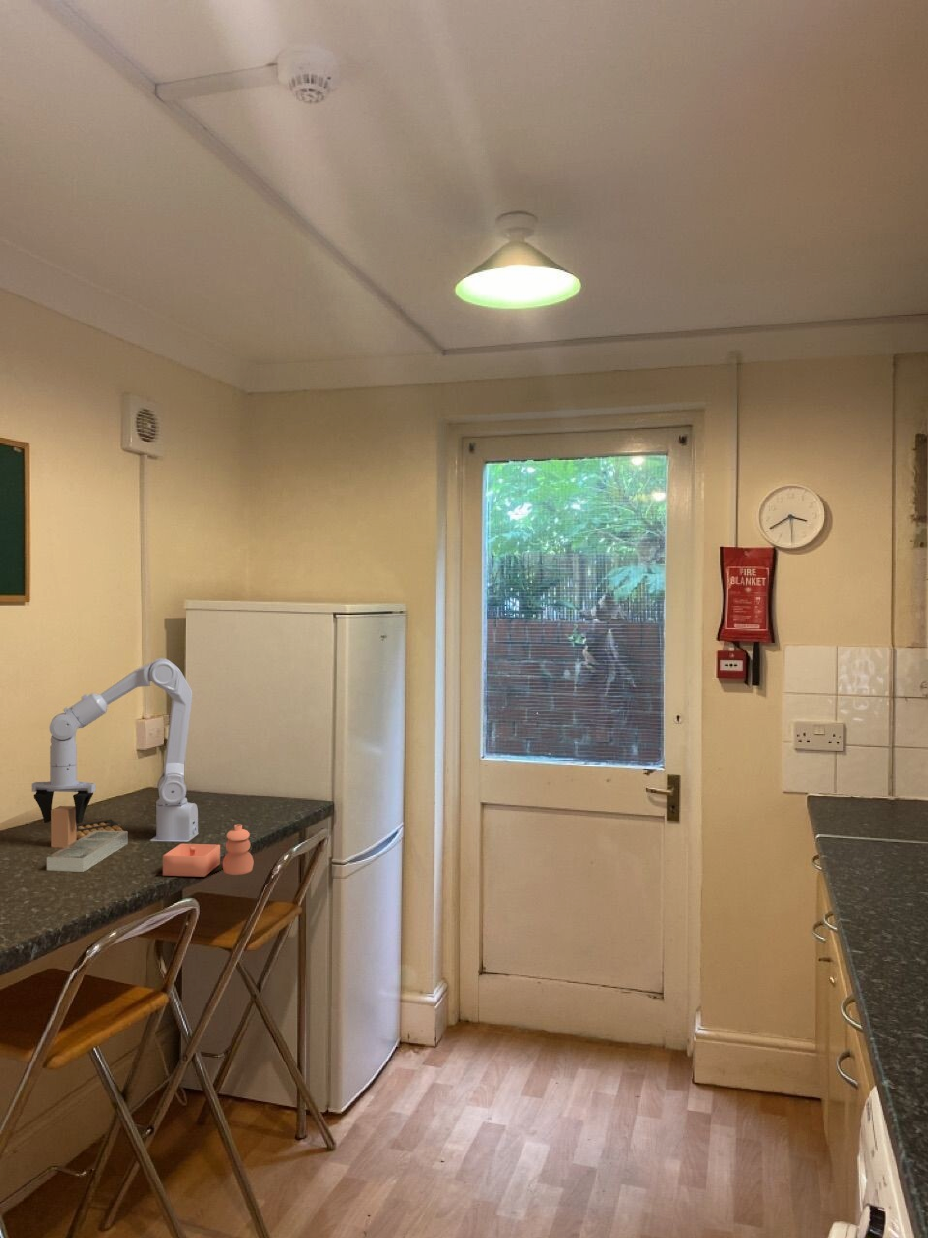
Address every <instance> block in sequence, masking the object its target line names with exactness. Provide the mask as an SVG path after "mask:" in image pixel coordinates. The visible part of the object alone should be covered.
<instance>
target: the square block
mask: <svg viewBox="0 0 928 1238" xmlns="http://www.w3.org/2000/svg"><path fill="white" fill-rule="evenodd" d="M75 817H76V809H75V805H72V806H71V805H59V806H56V807H55V808H52V810H51V821H50V823H51V825H50V827H51V828H50V829H51V830H50V833H51V848H59V849H62V848H64V847H66V846H68V845H70V844H71V843H73V842H75V841H77V837H76V825H77V824H76V820H75Z"/></svg>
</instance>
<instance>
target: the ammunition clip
mask: <svg viewBox="0 0 928 1238" xmlns="http://www.w3.org/2000/svg"><path fill="white" fill-rule="evenodd" d="M93 831H124V830H123V828H121V827H120V826H119V824H118V823H117V822H115V821H114V820H113V819H105V820H99V821H93V822H87V823H79V824H76V839H77V840H79V839H80V838H82V837H84V836H86V835H88V834H89V833H91V832H93Z"/></svg>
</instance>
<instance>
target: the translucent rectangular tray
mask: <svg viewBox="0 0 928 1238" xmlns="http://www.w3.org/2000/svg"><path fill="white" fill-rule="evenodd" d="M128 833H129V832H128V831H127V830H123V831H93V832H91V833H89V834H88V835H86V836H84V837H82V838H80V839H76V841H75V842H73V843H71V844H70V845H68V846H66V847H64V848H60V849H59V850H57V851H56V852H53V853H52V854H50V855H48V856H46V871H47V872H49V871H51V872H68V873H69V872H72V873H73V872H74V873H75V872H76V873H83V872H86V871H87V870H89V869H90V868H92V867H93V866H95V865H96V864H98V863H100V862H101V861H103V860H105V859H106V858H107V857H109V856H110V855H113V854H114V853H116V852H117V851H119V850H120V849H122V848H123V847H125V846H126V845H128V843H129V842H128V841H129V839H128Z"/></svg>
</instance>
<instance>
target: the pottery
mask: <svg viewBox="0 0 928 1238" xmlns="http://www.w3.org/2000/svg"><path fill="white" fill-rule="evenodd" d="M233 827H234V828H233V829H230V830H229V831H227V833H226V838H227V839H228V840H227V842H226V844H225V849H226V851H227V853H226V854H225V855H224V857H223V859H222V862H221V844H214V843H213V844H209V843H208V844H207V843H205V844H204V843H179V844H178V845H176V846H175V847H174V848H171V849H170V850H169V851H167V852H166V853H165V854H163V855H162V876H168V877H169V876H170V877H172V876H174V877H195V878H196V877H200V878H201V877H202V878H203V877H206V876H207V875H208V874H209V873H210V872H212V871H213V870H214V869H216V868H217V867H218V866H219V865H220V864H221V863H222V868H223V873H225V874H227V875H232V876H235V875H236V876H238V875H245V874H249V873H251V872H252V871H253V869H254V868H253V867H254V864H255V863H254V862H255V861H254V857H253V855H252V854H251V852H249V850H250V848H251V841H250V839H249V837H250V836H251V834H250V832H249V831H248V830H247V829H244V828H243V824H234V825H233Z"/></svg>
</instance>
